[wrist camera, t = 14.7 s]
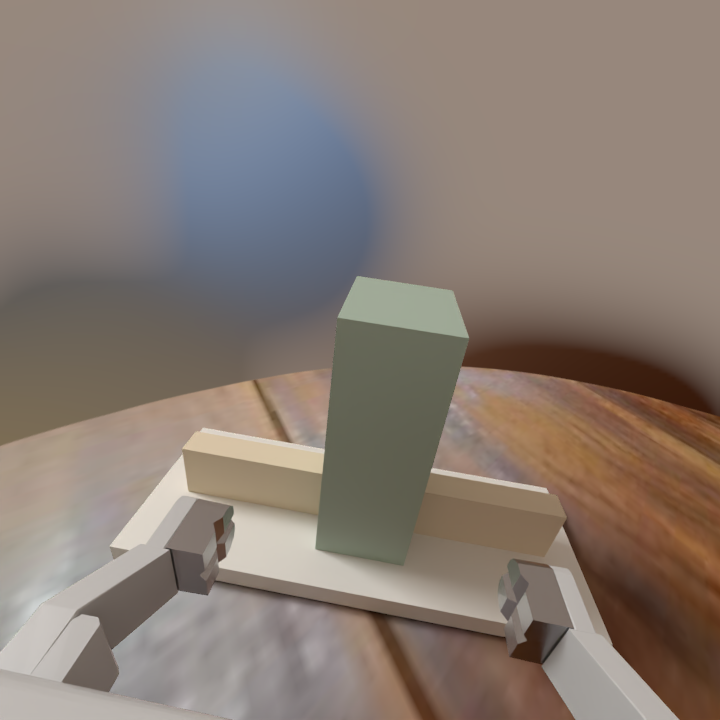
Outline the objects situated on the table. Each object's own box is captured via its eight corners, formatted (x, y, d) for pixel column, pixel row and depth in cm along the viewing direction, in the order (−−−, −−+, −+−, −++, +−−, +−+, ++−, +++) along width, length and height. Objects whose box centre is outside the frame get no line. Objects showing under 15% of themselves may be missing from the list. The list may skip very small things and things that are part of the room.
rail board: (540, 499, 27) (564, 452, 25) (602, 656, 19) (647, 604, 16) (204, 439, 29) (199, 389, 27) (114, 560, 20) (94, 500, 18)
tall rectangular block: (404, 483, 26) (452, 290, 19) (403, 565, 20) (469, 338, 14) (334, 471, 26) (357, 276, 19) (315, 549, 21) (337, 317, 14)
